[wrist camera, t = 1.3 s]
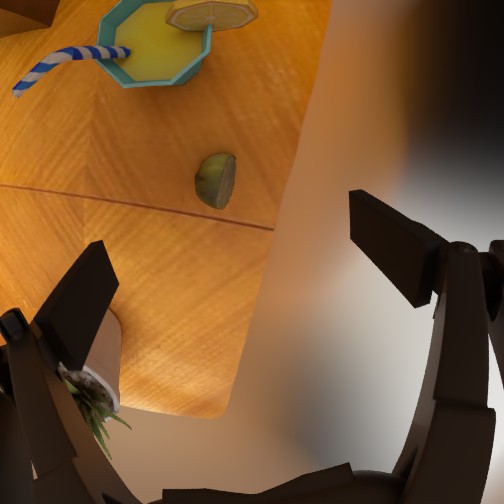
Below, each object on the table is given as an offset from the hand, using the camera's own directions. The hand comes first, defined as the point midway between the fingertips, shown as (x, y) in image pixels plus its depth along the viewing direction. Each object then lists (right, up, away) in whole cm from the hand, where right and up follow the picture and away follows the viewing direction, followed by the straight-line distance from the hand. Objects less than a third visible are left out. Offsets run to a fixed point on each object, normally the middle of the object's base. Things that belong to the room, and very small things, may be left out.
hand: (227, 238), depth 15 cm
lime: (-2, +7, +13) cm, 15 cm away
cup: (-7, +17, +8) cm, 20 cm away
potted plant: (-19, -10, +19) cm, 29 cm away
